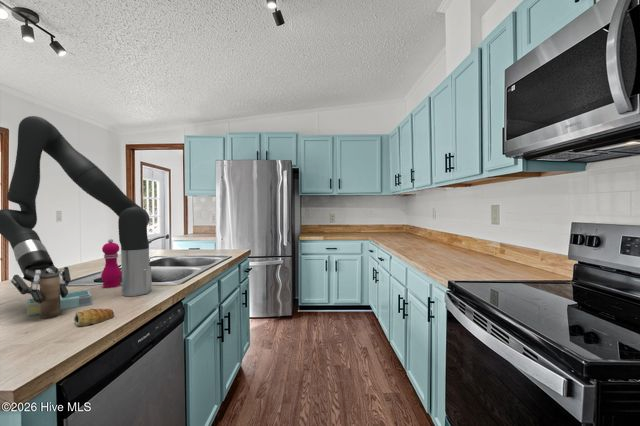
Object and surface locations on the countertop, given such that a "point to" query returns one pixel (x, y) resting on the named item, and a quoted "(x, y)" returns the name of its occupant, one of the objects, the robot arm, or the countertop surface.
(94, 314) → the pastry
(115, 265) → the pepper mill
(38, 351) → the countertop surface
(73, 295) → the socket block
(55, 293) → the walnut peg
